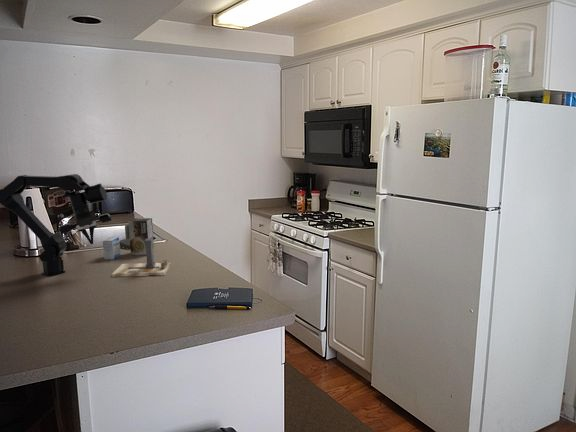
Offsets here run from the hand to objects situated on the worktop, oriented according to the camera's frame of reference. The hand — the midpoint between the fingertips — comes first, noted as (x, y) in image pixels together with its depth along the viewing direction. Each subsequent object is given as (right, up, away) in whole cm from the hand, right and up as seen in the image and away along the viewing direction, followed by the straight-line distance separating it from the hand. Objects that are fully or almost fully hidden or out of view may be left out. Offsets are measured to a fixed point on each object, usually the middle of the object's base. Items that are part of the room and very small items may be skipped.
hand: (92, 244), depth 181 cm
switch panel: (+19, -11, +3) cm, 22 cm away
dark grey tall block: (+22, -9, +3) cm, 24 cm away
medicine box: (-1, -8, +25) cm, 26 cm away
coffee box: (+10, -6, +32) cm, 34 cm away
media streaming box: (+1, -4, +48) cm, 49 cm away
